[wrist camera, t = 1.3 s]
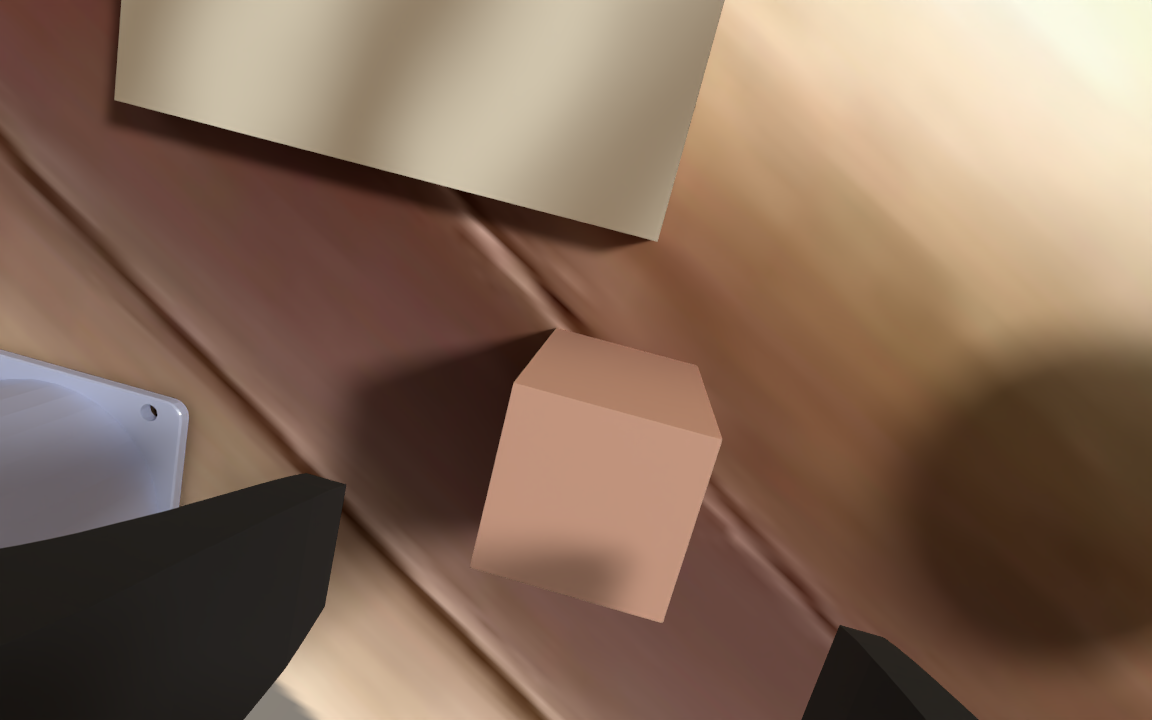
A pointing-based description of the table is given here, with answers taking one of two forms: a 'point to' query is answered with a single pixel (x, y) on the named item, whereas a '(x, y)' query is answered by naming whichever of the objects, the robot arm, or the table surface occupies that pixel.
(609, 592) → the block
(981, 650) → the table surface
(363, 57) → the board
